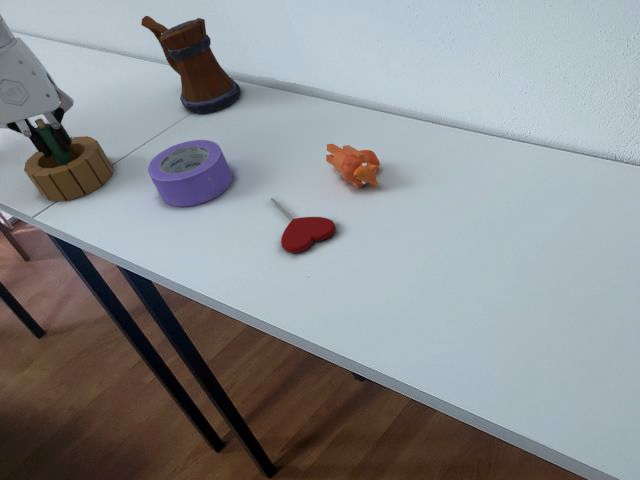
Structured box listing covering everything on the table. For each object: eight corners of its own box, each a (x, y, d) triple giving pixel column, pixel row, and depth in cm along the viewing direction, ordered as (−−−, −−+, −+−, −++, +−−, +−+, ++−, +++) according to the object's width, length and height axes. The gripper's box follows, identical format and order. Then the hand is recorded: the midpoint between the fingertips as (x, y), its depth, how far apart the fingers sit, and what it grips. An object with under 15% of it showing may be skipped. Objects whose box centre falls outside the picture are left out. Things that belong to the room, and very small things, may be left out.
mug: (154, 101, 129) (115, 24, 118) (199, 76, 135) (166, 1, 124) (207, 120, 121) (170, 38, 110) (253, 92, 126) (222, 13, 115)
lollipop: (249, 213, 97) (291, 258, 89) (246, 208, 97) (289, 253, 88) (295, 190, 100) (341, 231, 91) (294, 185, 99) (339, 226, 91)
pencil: (67, 180, 109) (29, 125, 102) (68, 173, 111) (31, 119, 103) (81, 176, 110) (45, 121, 102) (82, 169, 111) (46, 114, 104)
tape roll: (246, 180, 104) (234, 153, 101) (183, 216, 99) (168, 188, 96) (210, 158, 111) (198, 132, 107) (150, 191, 106) (134, 164, 102)
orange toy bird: (314, 138, 99) (358, 164, 92) (354, 133, 103) (399, 157, 97) (314, 170, 102) (357, 197, 95) (354, 163, 106) (397, 188, 100)
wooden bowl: (39, 209, 106) (20, 183, 103) (45, 174, 114) (28, 149, 111) (112, 187, 108) (96, 161, 104) (113, 154, 116) (98, 129, 112)
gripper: (-80, 63, 90) (6, 176, 103) (38, 32, 92) (107, 147, 106) (-69, 44, 95) (12, 155, 108) (42, 16, 97) (107, 127, 111)
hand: (58, 150), depth 107 cm, fingers closed on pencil, 2 cm apart
